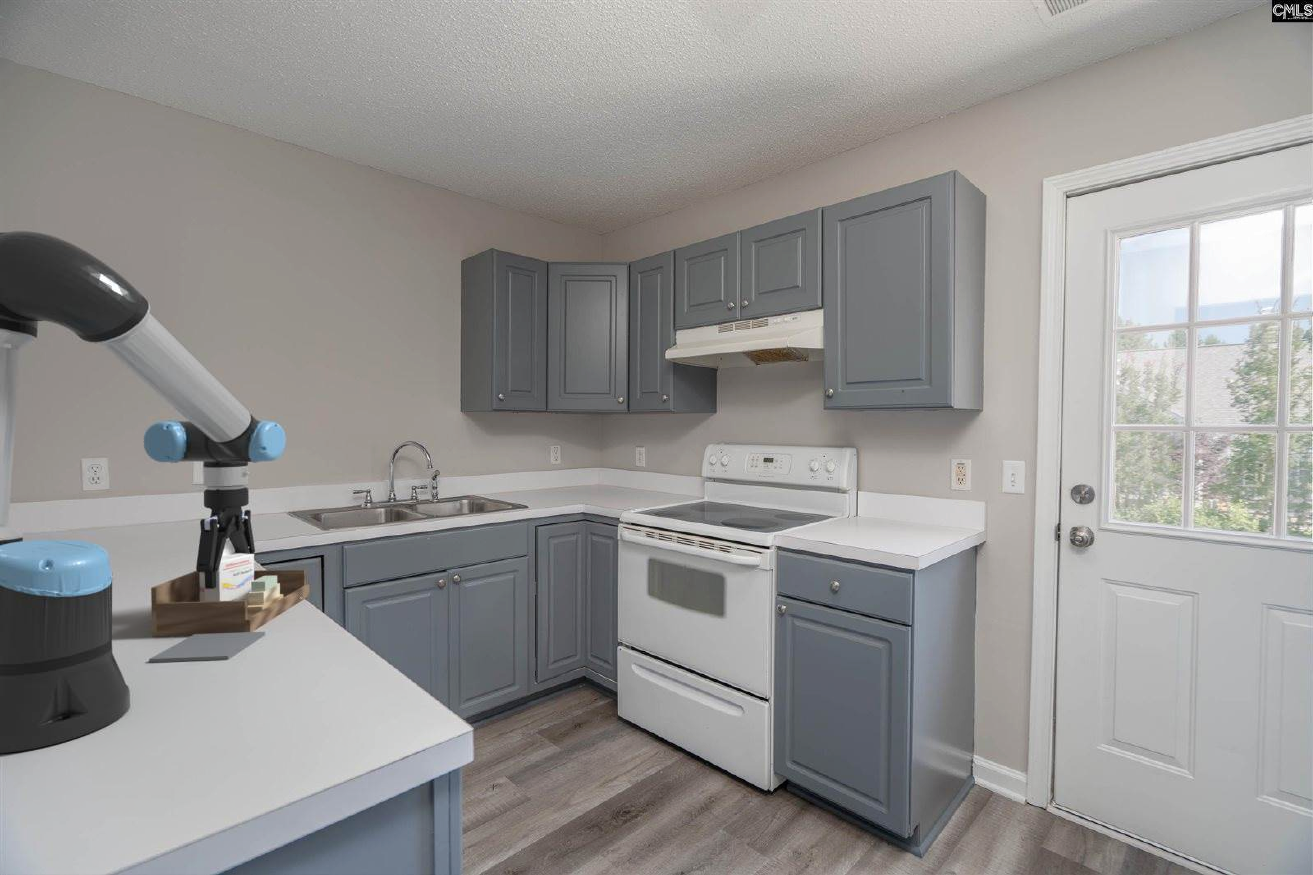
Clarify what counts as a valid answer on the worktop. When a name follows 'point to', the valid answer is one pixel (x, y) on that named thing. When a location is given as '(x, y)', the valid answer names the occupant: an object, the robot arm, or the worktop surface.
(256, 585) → the offcut top
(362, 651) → the worktop surface
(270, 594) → the block
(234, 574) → the ink box
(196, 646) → the mat
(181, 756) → the worktop surface
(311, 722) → the worktop surface
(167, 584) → the rack
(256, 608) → the offcut bottom
